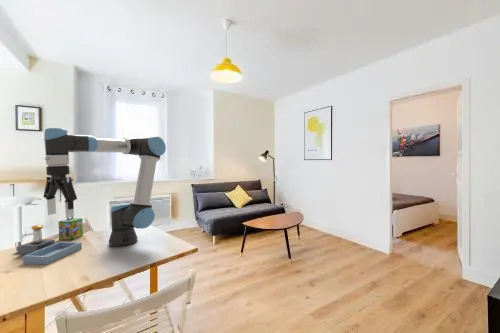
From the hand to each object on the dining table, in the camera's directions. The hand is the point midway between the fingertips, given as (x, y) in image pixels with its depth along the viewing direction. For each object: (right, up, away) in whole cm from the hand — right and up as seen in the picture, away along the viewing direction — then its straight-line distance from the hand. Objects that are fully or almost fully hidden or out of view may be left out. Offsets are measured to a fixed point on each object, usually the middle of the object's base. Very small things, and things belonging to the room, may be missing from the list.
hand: (60, 215), depth 100 cm
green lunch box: (-35, -25, +52) cm, 67 cm away
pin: (-35, -26, +29) cm, 52 cm away
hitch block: (-38, -26, +29) cm, 54 cm away
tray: (-22, -26, +23) cm, 41 cm away
